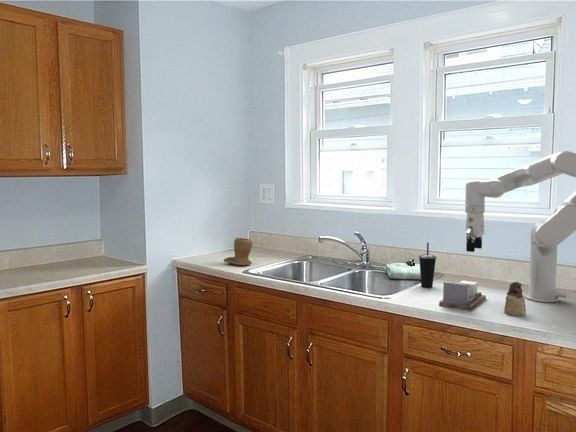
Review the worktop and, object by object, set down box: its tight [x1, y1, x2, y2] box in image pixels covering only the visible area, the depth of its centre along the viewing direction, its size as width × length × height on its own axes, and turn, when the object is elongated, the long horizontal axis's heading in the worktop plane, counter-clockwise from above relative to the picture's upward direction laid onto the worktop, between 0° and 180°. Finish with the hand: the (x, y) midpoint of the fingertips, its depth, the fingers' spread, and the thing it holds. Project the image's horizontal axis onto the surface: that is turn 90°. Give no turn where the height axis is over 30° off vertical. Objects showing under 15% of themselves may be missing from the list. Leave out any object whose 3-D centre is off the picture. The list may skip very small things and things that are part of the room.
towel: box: [385, 262, 421, 281], centre depth 240 cm, size 18×21×5 cm
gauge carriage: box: [459, 280, 478, 297], centre depth 195 cm, size 9×10×5 cm
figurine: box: [503, 281, 527, 318], centre depth 176 cm, size 7×7×12 cm
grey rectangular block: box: [442, 280, 470, 306], centre depth 185 cm, size 9×3×8 cm, turn 53°
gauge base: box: [438, 291, 487, 312], centre depth 192 cm, size 12×20×3 cm, turn 143°
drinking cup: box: [418, 242, 437, 289], centre depth 217 cm, size 8×8×20 cm
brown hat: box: [223, 237, 253, 266], centre depth 269 cm, size 15×12×15 cm
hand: (474, 249), depth 204 cm, fingers open, 9 cm apart
